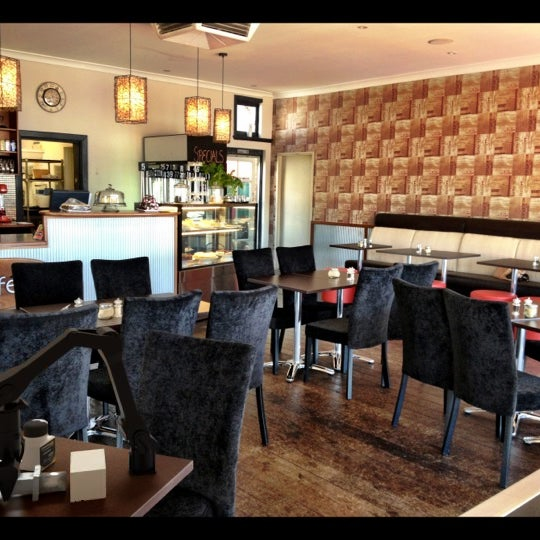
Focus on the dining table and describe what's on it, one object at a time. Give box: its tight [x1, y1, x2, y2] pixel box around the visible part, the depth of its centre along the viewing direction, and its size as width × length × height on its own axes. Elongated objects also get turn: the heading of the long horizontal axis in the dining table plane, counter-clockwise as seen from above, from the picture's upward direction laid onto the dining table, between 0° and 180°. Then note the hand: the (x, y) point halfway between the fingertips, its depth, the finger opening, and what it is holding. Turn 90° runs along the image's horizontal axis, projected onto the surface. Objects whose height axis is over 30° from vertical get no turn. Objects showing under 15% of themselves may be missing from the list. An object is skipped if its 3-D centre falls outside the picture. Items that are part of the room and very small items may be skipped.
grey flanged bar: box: [11, 465, 67, 502], centre depth 139 cm, size 13×6×6 cm, turn 108°
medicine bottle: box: [20, 418, 56, 472], centre depth 154 cm, size 7×7×12 cm
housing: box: [69, 448, 107, 503], centre depth 142 cm, size 8×12×7 cm, turn 18°
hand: (8, 492), depth 137 cm, fingers open, 9 cm apart
